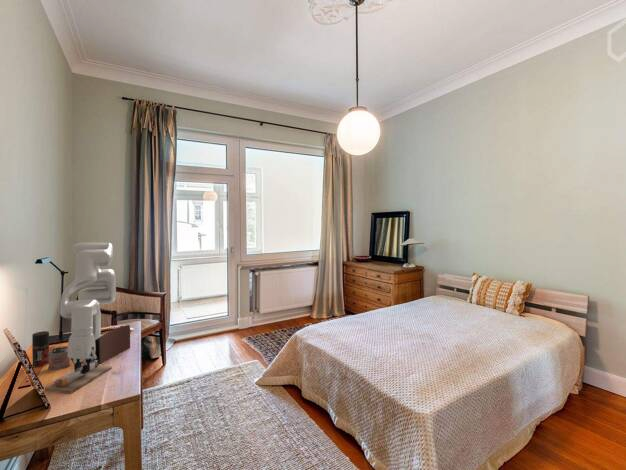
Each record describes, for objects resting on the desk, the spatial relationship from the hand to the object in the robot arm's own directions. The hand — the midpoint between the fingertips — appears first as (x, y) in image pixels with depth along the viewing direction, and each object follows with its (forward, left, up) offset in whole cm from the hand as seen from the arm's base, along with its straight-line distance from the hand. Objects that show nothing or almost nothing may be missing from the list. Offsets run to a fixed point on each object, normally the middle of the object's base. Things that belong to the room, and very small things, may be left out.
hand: (82, 372), depth 134 cm
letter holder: (-20, +11, -3) cm, 23 cm away
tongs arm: (+2, -1, -1) cm, 3 cm away
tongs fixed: (+1, -1, -1) cm, 2 cm away
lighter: (-17, -8, -2) cm, 19 cm away
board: (+2, -1, -2) cm, 3 cm away
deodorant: (-26, -15, -2) cm, 30 cm away
